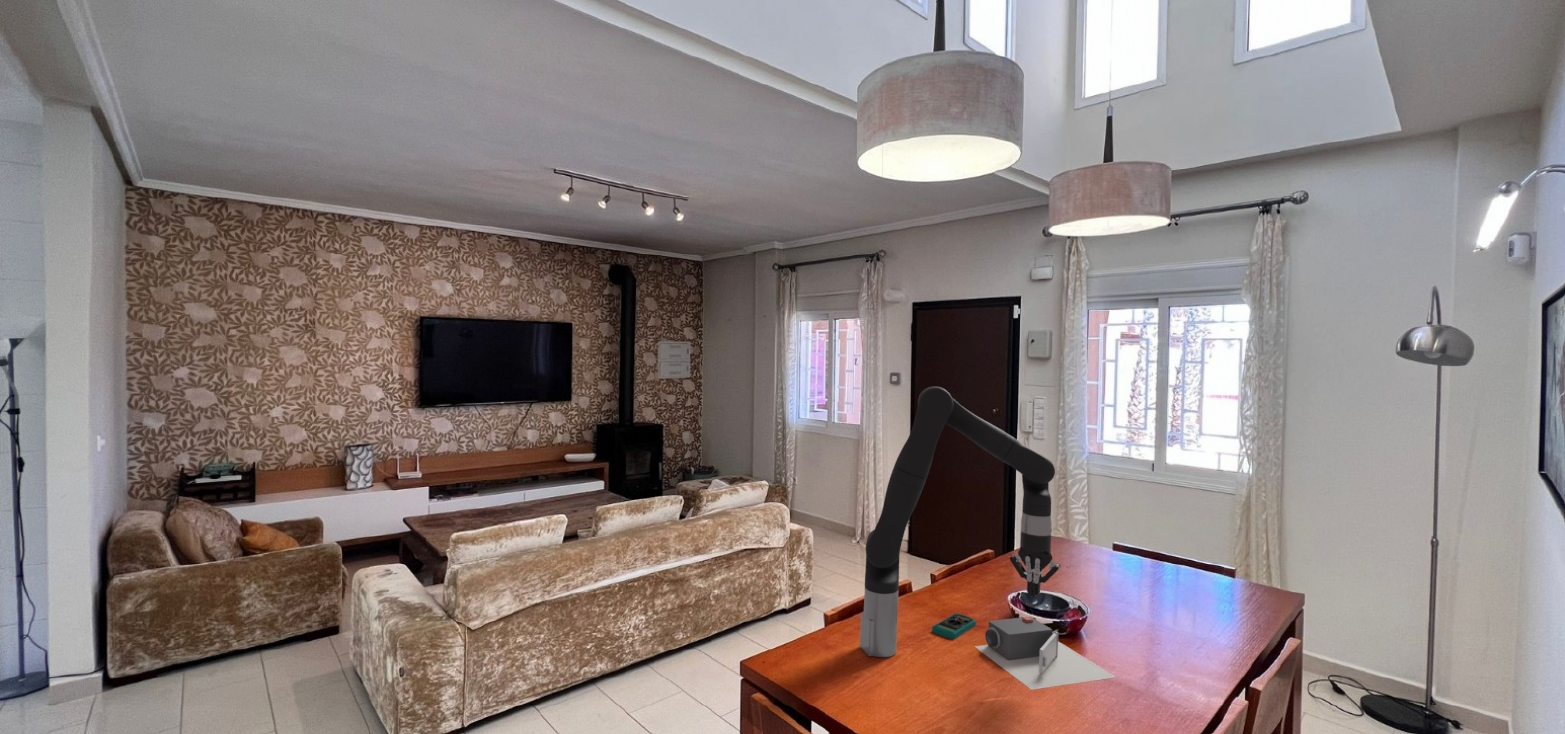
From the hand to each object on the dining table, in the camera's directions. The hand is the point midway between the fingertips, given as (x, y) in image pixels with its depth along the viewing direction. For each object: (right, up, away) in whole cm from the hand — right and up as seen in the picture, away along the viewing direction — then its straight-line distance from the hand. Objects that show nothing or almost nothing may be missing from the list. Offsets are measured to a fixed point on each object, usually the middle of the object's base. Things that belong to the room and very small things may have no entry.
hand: (1033, 595), depth 169 cm
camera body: (0, -18, +9) cm, 21 cm away
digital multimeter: (-15, -19, +22) cm, 33 cm away
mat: (+3, -19, +3) cm, 20 cm away
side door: (+4, -19, +1) cm, 19 cm away
